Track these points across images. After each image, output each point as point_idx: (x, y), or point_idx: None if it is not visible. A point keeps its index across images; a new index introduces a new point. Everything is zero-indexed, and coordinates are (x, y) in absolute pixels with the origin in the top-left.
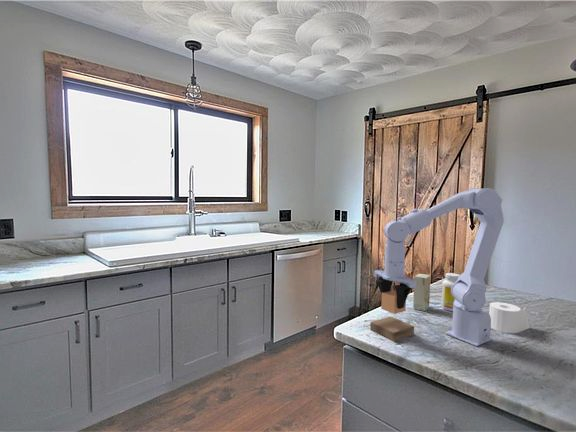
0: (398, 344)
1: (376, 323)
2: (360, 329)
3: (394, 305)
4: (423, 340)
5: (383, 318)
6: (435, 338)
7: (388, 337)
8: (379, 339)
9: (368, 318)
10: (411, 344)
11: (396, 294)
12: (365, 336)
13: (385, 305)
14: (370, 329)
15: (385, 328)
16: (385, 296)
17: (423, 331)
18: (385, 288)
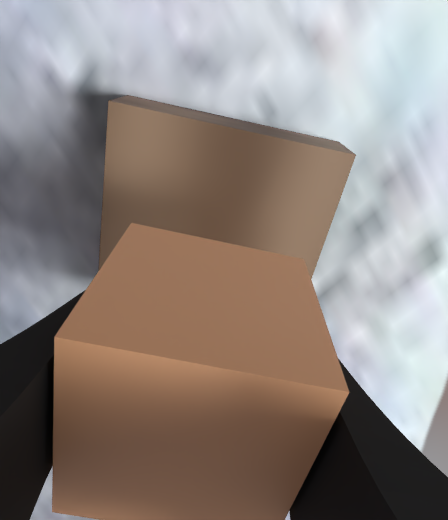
0: (80, 80)
1: (303, 164)
2: (404, 93)
3: (102, 267)
4: (34, 251)
5: None
6: (18, 314)
7: (170, 107)
8: (210, 45)
9: (429, 295)
10: (35, 149)
11: (15, 398)
12: (315, 2)
13: (249, 272)
14: (338, 142)
15: (200, 129)
16: (260, 347)
17: None
18: (337, 515)
